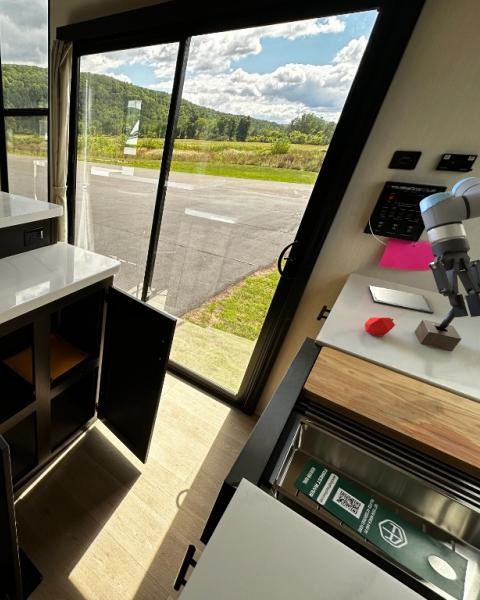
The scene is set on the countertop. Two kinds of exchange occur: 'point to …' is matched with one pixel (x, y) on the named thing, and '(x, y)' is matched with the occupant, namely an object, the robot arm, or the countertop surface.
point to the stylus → (446, 321)
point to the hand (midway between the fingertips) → (469, 316)
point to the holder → (437, 335)
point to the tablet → (400, 299)
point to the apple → (379, 326)
